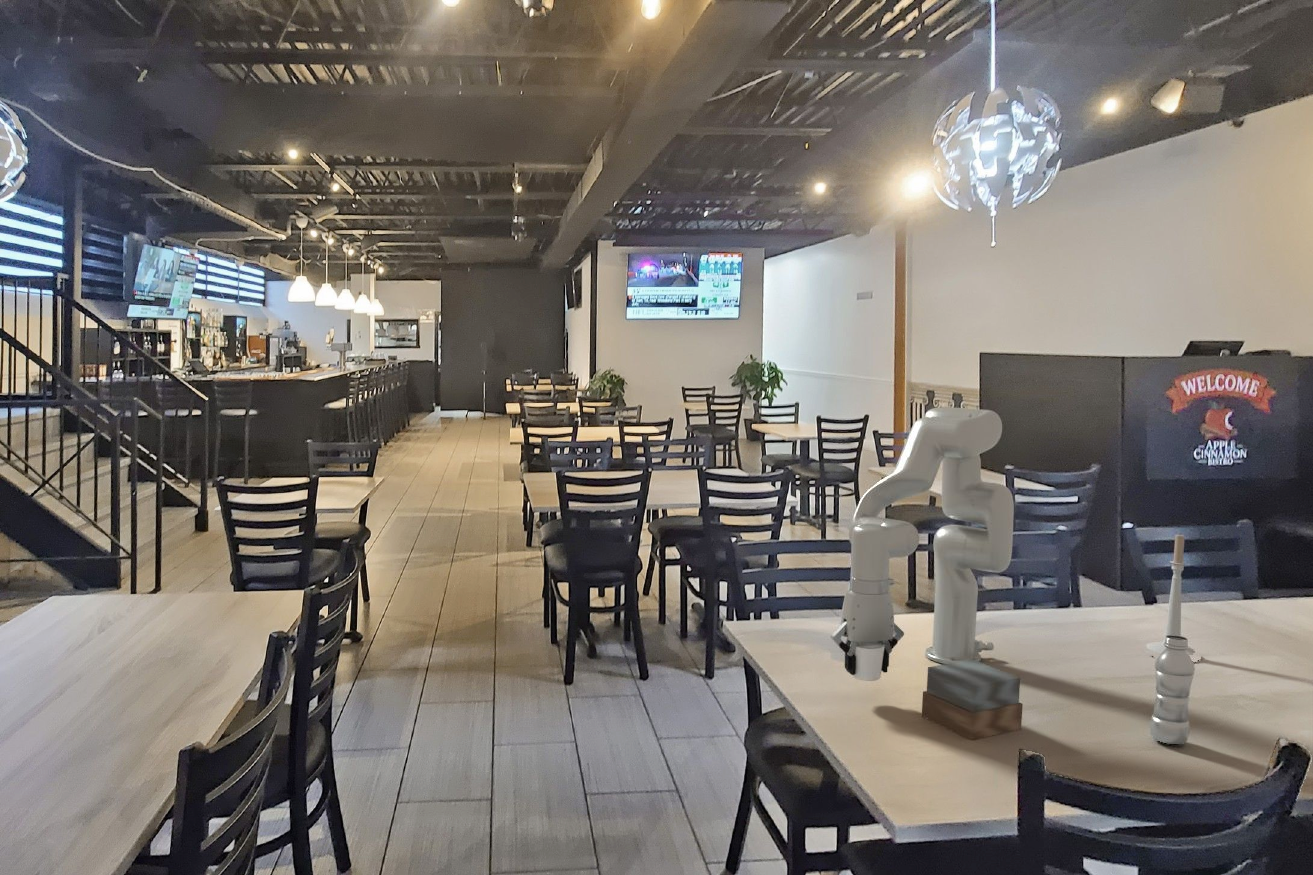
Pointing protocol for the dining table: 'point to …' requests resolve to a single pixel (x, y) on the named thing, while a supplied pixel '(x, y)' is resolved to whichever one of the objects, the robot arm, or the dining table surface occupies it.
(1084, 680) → the dining table surface
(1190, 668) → the plastic bottle
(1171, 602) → the candlestick
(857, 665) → the white grey-rimmed cylinder
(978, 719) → the grey and wood block
